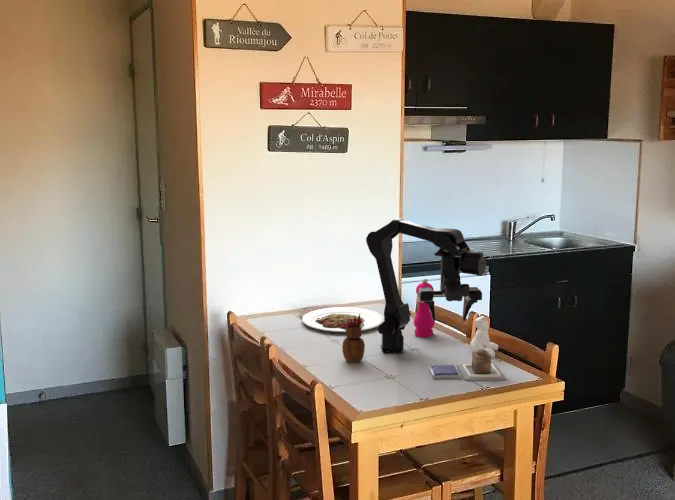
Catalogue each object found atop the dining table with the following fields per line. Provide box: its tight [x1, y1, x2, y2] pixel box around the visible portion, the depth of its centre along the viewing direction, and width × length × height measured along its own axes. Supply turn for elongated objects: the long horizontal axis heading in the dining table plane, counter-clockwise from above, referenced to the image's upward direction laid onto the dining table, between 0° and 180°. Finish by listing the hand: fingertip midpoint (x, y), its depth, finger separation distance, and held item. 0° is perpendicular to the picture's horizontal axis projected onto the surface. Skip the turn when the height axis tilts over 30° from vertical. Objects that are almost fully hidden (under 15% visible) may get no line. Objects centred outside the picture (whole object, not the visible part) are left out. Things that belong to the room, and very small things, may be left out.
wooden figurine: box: [342, 314, 366, 364], centre depth 221 cm, size 7×6×15 cm
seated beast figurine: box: [469, 315, 499, 359], centre depth 229 cm, size 10×9×12 cm
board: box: [456, 363, 508, 382], centre depth 212 cm, size 12×12×1 cm
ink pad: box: [427, 364, 462, 380], centre depth 211 cm, size 8×8×1 cm
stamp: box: [471, 349, 492, 374], centre depth 211 cm, size 4×4×6 cm
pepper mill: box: [413, 278, 436, 338], centre depth 246 cm, size 7×7×20 cm
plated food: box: [301, 306, 384, 333], centre depth 262 cm, size 30×30×3 cm
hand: (448, 321), depth 219 cm, fingers open, 9 cm apart
